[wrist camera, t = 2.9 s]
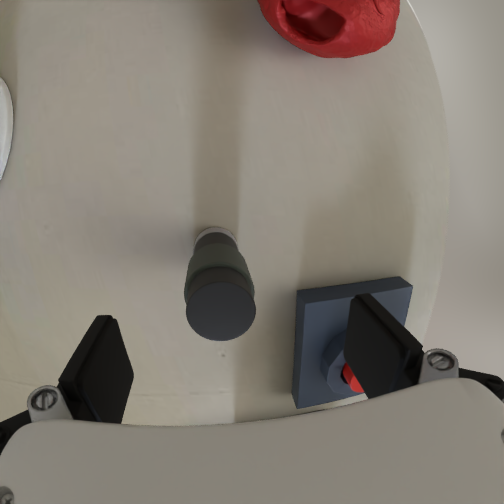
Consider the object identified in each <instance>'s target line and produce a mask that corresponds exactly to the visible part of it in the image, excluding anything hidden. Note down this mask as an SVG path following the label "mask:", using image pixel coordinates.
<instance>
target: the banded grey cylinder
mask: <svg viewBox="0 0 504 504" xmlns="http://www.w3.org/2000/svg"><path fill="white" fill-rule="evenodd" d="M184 298H185V302H186V305H187V306H186V316H187V320H188V322H189V324H190V326H191V327H192V329H193V330H194V331H195V332H196V333H198V334H199V335H200V336H202V337H204V338H206V339H209V340H214V341H227V340H231V339H234V338H237V337H239V336H241V335H242V334H244V333H245V332H246V331H247V330H248V329H249V328H250V326H251V325H252V323H253V321H254V318H255V314H256V307H255V303H254V285H253V282H252V279H251V276H250V273H249V270H248V267H247V264H246V262H245V259H244V258H243V256H242V255H241V253H240V252H239V248H238V245H237V242H236V239H235V237H234V236H233V235H232V234H231V233H230V232H229V231H228V230H226V229H223V228H219V227H213V228H208V229H206V230H204V231H203V232H201V233H200V234H199V235H198V237H197V238H196V240H195V244H194V249H193V256H192V258H191V260H190V262H189V265H188V270H187V276H186V282H185V288H184Z"/></svg>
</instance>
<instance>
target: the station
mask: <svg viewBox="0 0 504 504" xmlns="http://www.w3.org/2000/svg"><path fill="white" fill-rule="evenodd" d="M412 289H413V286H412V285H411V284H409V283H408V282H407V281H405V280H404V279H403V278H401V277H400V276H399V277H392V278H386V279H379V280H373V281H366V282H359V283H352V284H345V285H337V286H330V287H322V288H314V289H306V290H297V304H296V329H295V349H294V367H293V382H292V396H293V399H294V402H295V405H296V408H297V409H300V408H305V407H310V406H315V405H319V404H324V403H328V402H332V401H337V400H341V399H344V398H348V397H352V396H356V395H359V394H363V393H365V392H355V391H353V390H352V389H351V388H350V386H349V384H348V382H347V381H346V379H345V377H344V375H343V367H344V364H345V363H346V361H345V359H344V355H343V350H344V344H345V338H346V331H347V324H348V317H349V309H350V302H351V299H353V298H354V297H355V295H357V294H364V293H370V294H371V295H372V296H373V297H374V298H375V299H376V300H377V301H378V302H379V303H380V304H381V305H382V306H383V307H384V308H385V309H387V310H388V311H389V312H390V313H391V314H392V315H393V316H394V317H395V318H396V319H397V320H398V321H399V322H400V323H401V324H402V325H403V326H404V325H405V321H406V317H407V312H408V308H409V303H410V299H411V294H412Z"/></svg>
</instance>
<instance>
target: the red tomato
mask: <svg viewBox="0 0 504 504" xmlns="http://www.w3.org/2000/svg"><path fill="white" fill-rule="evenodd" d="M257 1H258V3H259V4H260V8H261V11H262V14H263V15H264V17H265V19H266V20H267V21H268V22H269V24H270V25H271V26H272V27H273V28H274V29H275V30H276V31H277V32H278V34H280V35H281V36H282V37H283V38H285V39H286V40H287V41H289V42H290V43H291V44H293V45H295V46H296V47H298V48H300V49H302V50H304V51H306V52H309V53H311V54H313V55H316V56H319V57H324V58H350V57H354V56H358V55H364V54H368V53H371V52H375V51H377V50H379V49H380V48H381V47H383V46H385V45H387V44H388V43H389V42H390V41H391V40H392V38H393V36H394V33H395V29H396V21H397V18H398V15H399V11H400V9H399V5H400V0H257Z"/></svg>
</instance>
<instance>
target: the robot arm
mask: <svg viewBox="0 0 504 504" xmlns="http://www.w3.org/2000/svg"><path fill="white" fill-rule="evenodd" d="M12 133H13V105H12V100H11V95H10V92H9V89H8V87H7V85H6V83H5V82H4V81H3V79H2V78H0V180H1V178H2V175H3V172H4V169H5V167H6V164H7V160H8V156H9V152H10V147H11V140H12ZM422 347H423V346H422V345H421V344H420V342H419V341H418V340H417V339H416V338H415V337H414V336H413V335H412V334H411V333H410V332H409V331H408V330H407V329H406V328H405V327H404V326H403V325H402V324H401V323H400V322H399V321H398V320H397V319H396V318H395V317H394V316H393V315H392V314H391V313H390V312H389V311H388V310H387V309H385V308H384V307H383V306H382V305H381V304H380V303H379V302H378V301H377V300H376V299H375V298H374V297H373V296H372V295H371V294H370V293H364V294H357V295H355V297H354V298H353V299H351V302H350V309H349V317H348V324H347V331H346V338H345V344H344V350H343V355H344V359H345V361H346V362H347V364H348V366H349V367H350V369H351V370H352V372H353V374H354V375H355V377H356V379H357V380H358V382H359V384H360V385H361V387H362V389H363V390H364V392H365V394H366V396H367V397H368V399H367V400H364V401H360V402H356V403H352V404H348V405H344V406H340V407H335V408H331V409H326V410H322V411H317V412H312V413H306V414H301V415H295V416H289V417H282V418H276V419H268V420H260V421H252V422H242V423H231V424H216V425H195V426H151V425H129V424H121V422H122V418H123V414H124V410H125V407H126V403H127V399H128V396H129V392H130V389H131V385H132V382H133V378H134V373H133V369H132V366H131V363H130V360H129V357H128V354H127V351H126V348H125V345H124V342H123V339H122V336H121V332H120V329H119V326H118V322H117V320H116V319H113V317H112V316H111V315H98V316H97V317H96V318H95V320H94V321H93V323H92V324H91V326H90V327H89V329H88V331H87V332H86V334H85V335H84V337H83V339H82V340H81V342H80V344H79V345H78V347H77V349H76V350H75V352H74V354H73V355H72V357H71V359H70V360H69V362H68V364H67V366H66V367H65V369H64V371H63V373H62V374H61V376H60V378H59V380H58V381H59V384H58V386H57V387H55V386H51V385H45V386H41V387H39V388H37V389H35V390H34V391H33V392H32V393H31V394H30V395H29V397H28V400H27V407H28V410H26V411H24V412H22V413H20V414H18V415H15V416H13V417H11V418H9V419H7V420H5V421H2V422H0V504H504V381H503V380H502V379H501V378H499V377H498V376H494V375H490V374H486V373H481V372H476V371H471V370H466V369H462V368H459V367H458V359H457V358H456V356H455V355H453V354H452V353H451V352H449V351H447V350H443V349H431V350H429V351H427V352H426V353H424V352H423V350H422Z"/></svg>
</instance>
